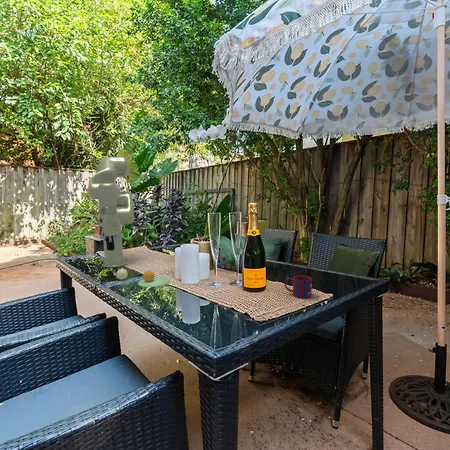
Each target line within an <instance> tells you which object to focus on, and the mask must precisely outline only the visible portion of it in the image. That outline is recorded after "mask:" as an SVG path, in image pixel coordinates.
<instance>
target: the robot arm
mask: <svg viewBox="0 0 450 450" xmlns="http://www.w3.org/2000/svg"><path fill="white" fill-rule="evenodd" d="M129 174H130V166H129V161H128V160H127V158H126V157H125V156H104V157H102V158H101V159H100V161H99V164H97V166H96V173H95V174H92V176H91V177H89V180H88V184H87V185H88V186H87V193H88V197H89V198H90V199H92V200H98V212H99V215H98V224H97V226H98V227H97V228H98V235H99V236H100V238H99V239H100V240H103V251H104V252H103V253H104V256H101V258H99V260H100V261H101V262H103V263H101V266H102V267H103V268H118V267H123V266H125V265H127V261H126V260H124V251H123V235H122V234H123V233H122V227H121V225H122V226H123V225H130V224H133V223H134V221H135V210H134V209H135V208H134V199H133V195H132V193H131V192H130V191H127V190H126V191H125V190H124V191H122V190H121V187H120V186H119V184H117V183H116V180H117V178H126V177H128V176H129Z"/></svg>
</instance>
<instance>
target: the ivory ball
mask: <svg viewBox="0 0 450 450" xmlns="http://www.w3.org/2000/svg"><path fill="white" fill-rule="evenodd" d="M128 273H129V272H128V271H127V269H125V268H120V269H117V271H116V273H115V275H116V276H115V277H116V278H117V279H118V280H119V281H122V280H123V281H124V280H126V278H127V277H128V275H129V274H128Z"/></svg>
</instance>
